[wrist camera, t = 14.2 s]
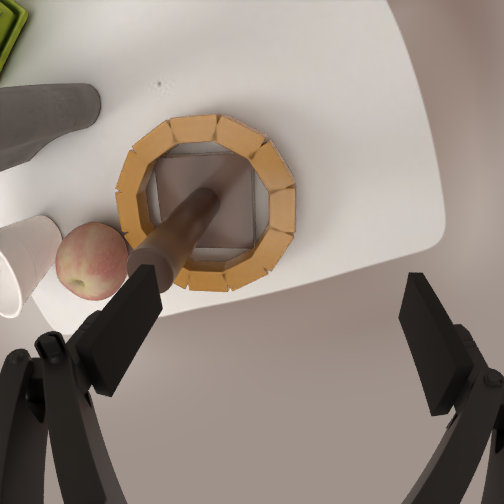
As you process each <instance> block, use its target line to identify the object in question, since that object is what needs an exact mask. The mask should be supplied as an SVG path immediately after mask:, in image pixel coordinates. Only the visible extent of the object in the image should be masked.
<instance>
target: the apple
mask: <svg viewBox="0 0 504 504" xmlns="http://www.w3.org/2000/svg"><path fill="white" fill-rule="evenodd" d="M127 259H128V251H127V247H126V244H125V241H124V239H123V238H122V236H121V235H120V234H119V233H118V232H117V231H116V230H114V229H113V228H111V227H109V226H107V225H104V224H101V223H97V222H91V223H87V224H84V225H81V226H79V227H77V228H75V229H74V230H73V231H71V232H70V233H69V234H68V235H67V236H66V237H65V238H64V240H63V241H62V242H61V244H60V246H59V248H58V250H57V253H56V259H55V266H56V273H57V276H58V279H59V281H60V282H61V283H62V284H63V285H64V286H65V287H66V288H67V289H68V290H69V291H71V292H72V293H74V294H75V295H77V296H78V297H80V298H83V299H86V300H95V301H98V300H103V299H106V298H108V297H110V296H112V295H113V294H114V293H115V292H116V291H117V290H118V289H119V288H120V286H121V285H122V283H123V282H124V280H125V278H126V275H127V268H126V264H127Z"/></svg>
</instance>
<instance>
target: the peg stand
mask: <svg viewBox="0 0 504 504" xmlns="http://www.w3.org/2000/svg"><path fill="white" fill-rule="evenodd" d="M155 173H156V182H157V190H158V199H159V207H160V215H161V223H160V224H159V225H158V226H157V227H156V228H155V229H154V230H153V231H152V232H151V233H150V234H149V235H148V236H147V237H146V238H145V239H144V240H143V241H142V242H141V243H140V244H139V245H138V247H137V248H136V249H135V250H134V251H133V252H132V253H131V254H130V255H129V257H128V259H127V264H126V268H127V273H128V276H129V278H130V276H131V275H132V274H133V273H134V272H135V271H136V269H137V268H138V267H139V266H140V265H141V264H149V265H154V267H155V272H156V277H157V283H158V288H159V293H163V292H165V291H167V290H168V289H169V288H170V287H171V285H172V284H173V282H174V281H175V279H176V277H177V276H178V274H179V272H180V271H181V269H182V268H183V266H184V264H185V263H186V261H187V259H188V258H189V256H190V255H191V253H192V251H193V250H194V248H247V249H252V248H254V247H255V243H256V235H255V202H254V169H253V166H252V165H251V163H250V161H249V160H248V159H247V158H245V157H243V156H241V155H239V154H237V153H235V152H214V153H193V154H177V155H164V156H162V157H161V158H159V159H158V160H157V162H156V165H155Z"/></svg>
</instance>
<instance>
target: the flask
mask: <svg viewBox="0 0 504 504" xmlns="http://www.w3.org/2000/svg"><path fill="white" fill-rule="evenodd" d="M99 111H100V98H99V95H98V93H97V91H96V89H95V88H93V87H92V86H91V85H88V84H43V85H27V86H15V87H4V88H0V172H1V171H4V170H6V169H9V168H11V167H14V166H17V165H19V164H22V163H25V162H28V161H30V160H31V159H32V157H33V156H34V155H35V154H36V153H37V152H38V151H39V150H40V149H41V148H43V147H44V146H45V145H46V144H48V143H49V142H51V141H52V140H54V139H56V138H58V137H60V136H62V135H64V134H67V133H69V132H73V131H77V130H81V129H85V128H88V127H89V126H91V125H92V124H93V123H94V122H95V121H96V119H97V117H98V115H99Z"/></svg>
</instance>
